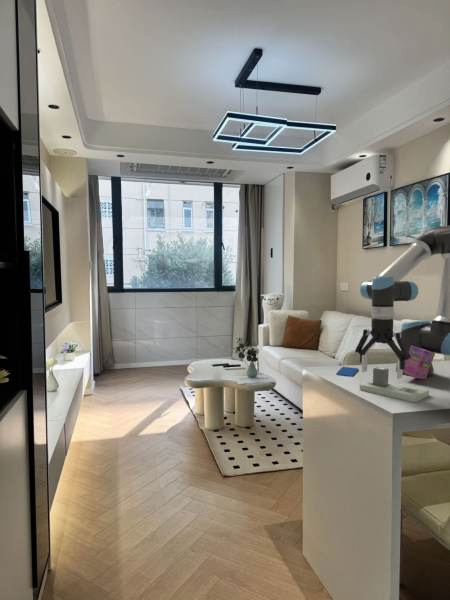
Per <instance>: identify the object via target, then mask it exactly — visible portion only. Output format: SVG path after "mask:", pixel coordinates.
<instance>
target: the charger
mask: <svg viewBox="0 0 450 600" xmlns="http://www.w3.org/2000/svg"><path fill="white" fill-rule="evenodd" d="M372 380H373V385H376V386H380V387H386V386H388V382H389V368H387V367H380V366H377V367H374V368H373V370H372Z"/></svg>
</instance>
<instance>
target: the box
mask: <svg viewBox="0 0 450 600" xmlns="http://www.w3.org/2000/svg"><path fill="white" fill-rule="evenodd" d="M409 354H410V356H411V358H410V359H408V360H406V361H405V369H403V373H405V374H407V375H406V376H410V377H412V378H417V379H419V380H420V379H422V380H426V379H427V377H428V376H427V374H428V371H429V368H430V366H431V363H432V364H433V360H434V357H435V355H436V353H433V352H430V351H427V350H424V349H422V348H418V347H415V346H412V345H411V348H410V350H409ZM405 374H404V375H405Z"/></svg>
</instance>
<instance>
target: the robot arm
mask: <svg viewBox="0 0 450 600" xmlns="http://www.w3.org/2000/svg"><path fill="white" fill-rule="evenodd" d="M435 255H440V257H441V258H442V259H443V260H444V261H443V268H442V276H441V283H440V289H439V290H440V291H439V297H438V303H437V304H438V305H437V312H436V316H435V317H434V318H433V319H432V320H418V321H417V320H414V321H413V320H411V321H404V322H403V323H401V330H400V332H394V319H393V317H394V314H395V313H394V308H395V307H394V306H395V305H394V304H395V302H410V301H413V300H415V299H417V297H418V295H419V287H418V285H417V284H416V283H415V282H413V281H409V280H404V281H403V279H404V277H406V276H408V274H409V273H410V272H411V271H413V270H414V269H415V267H417V266H418V265H419V264H421V262H423V260H424V261H427V260H428V259H429V258H430V257H432V256H435ZM359 290H360V291H359V293H360V295H361V296H362V298H363V299H365V300H366V299H367V300H371V317H372V318H371V325H370V326H371V329H369V328H366V329H363V330H362V331H363V332H362V336H361V338H360V339H359V342H358V344H357V346H356V348H355V350H354V351H355V353H358V354H359V363H361V372H362V373H365V372H366V373H367V372H368V354H367V352H368V351H369V350H370V349H371V348H372V347H373V346H374V344H375V343H378V344H387V345H388V346H389V347H390V348H391V351H393V353H394V354H395V356H396V357H397V358H398V360H397V361H396V362H397V363H396V365H395V372H396V380H397V379H399V380H400V379H402V378H403V375H404V376H408V375H407V374H405V373H403V369H405V361H406V360H408V359H410V358H411V356H410V354H409V350H410V348H411V345H412V346H415V347H418V348H422V349H424V350H427V351H430V352H433V353H435V354H439V355H443V356H450V225H449V224H448V225H443V226H435V227H434V228H431V229H429V230H428V231H427V230H426V231H425V232H424V233H422V234H421V235H420V236H418V237H417V238H416V239H414V240H413V241H412V242H411V243H410V245H409V248H408V249H407V250H405V252H403V253H402V254H401V255H400V256H399V257H397V259H395V260H394V261H393V262H392V263H391V264H389V265H388V266H387V267H386V268H385V269H384V270H383V271H381V272H380V274H378V275H377V276H374V277H372V280H366V281H363V282H362V284H360V288H359ZM369 336H371V339H369V342H367V340H368V338H369ZM394 339H395V340H396V342H397V344H398V345H397V344H396V343H395V341H394ZM366 342H367V343H366ZM365 344H366V345H365ZM434 375H435V369H434V366H433V362H432V363H431V366H430V368H429V371H428V374H427V377H432V376H434Z"/></svg>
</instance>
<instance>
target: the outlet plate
mask: <svg viewBox="0 0 450 600" xmlns="http://www.w3.org/2000/svg"><path fill="white" fill-rule="evenodd" d="M359 391H363V392H367V393H372V394H376V395H381V396H386V397H389V398H393V399H394V398H395V399H398V400H402V401H407V402H411V403H417V402H419V401H421V400H423V399H425V398H427V397H429V396H430V389H427V388H421V387H416V386H411V385H406V384H401V383H396V382H391V381H388V386H386V387H380V386H376V385H373V379H372V380H369V381H366V382H364V383H361V384H359Z"/></svg>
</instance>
